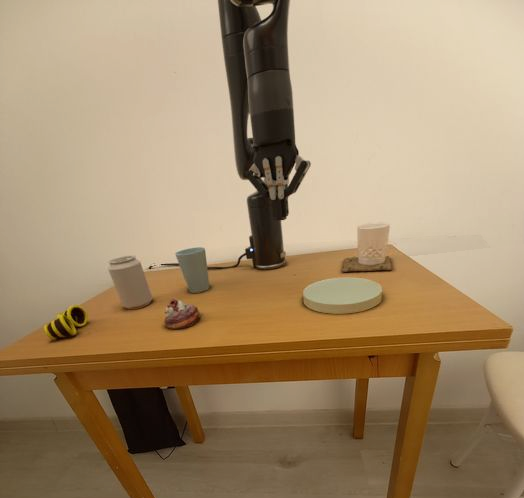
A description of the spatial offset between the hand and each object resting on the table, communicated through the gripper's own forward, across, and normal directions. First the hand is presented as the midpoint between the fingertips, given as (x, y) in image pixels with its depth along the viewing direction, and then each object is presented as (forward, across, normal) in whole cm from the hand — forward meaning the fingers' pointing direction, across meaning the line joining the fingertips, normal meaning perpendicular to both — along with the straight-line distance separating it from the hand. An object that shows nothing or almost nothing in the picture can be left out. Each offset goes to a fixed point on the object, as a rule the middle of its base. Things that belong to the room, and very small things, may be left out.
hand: (281, 219), depth 59 cm
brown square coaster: (+16, -14, -24) cm, 32 cm away
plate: (+16, -12, 0) cm, 20 cm away
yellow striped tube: (+16, +43, +25) cm, 52 cm away
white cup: (+16, -15, -25) cm, 34 cm away
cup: (+16, +27, -3) cm, 32 cm away
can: (+16, +38, +9) cm, 42 cm away
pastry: (+16, +18, +16) cm, 29 cm away
